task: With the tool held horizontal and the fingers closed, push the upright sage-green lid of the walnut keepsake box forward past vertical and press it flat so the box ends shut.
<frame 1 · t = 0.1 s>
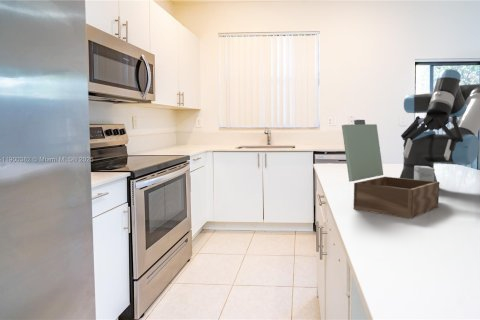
hand: (424, 157, 136), 15 cm above the counter, tool tilted 35°, fingers open, 13 cm apart
ink box: (422, 200, 139), on the counter
lid: (363, 149, 133), point 18 cm above the counter, hinge at 100.0°
wooden box: (396, 208, 126), on the counter
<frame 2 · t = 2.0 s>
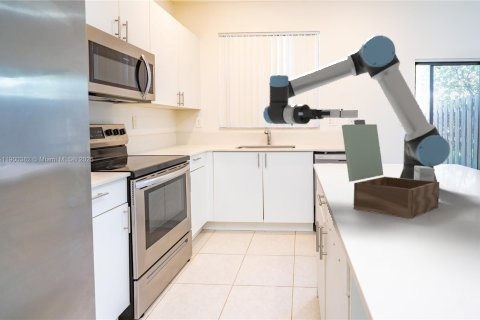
hand: (348, 113, 138), 30 cm above the counter, tool horizontal, fingers open, 11 cm apart
nothing on the counter moved.
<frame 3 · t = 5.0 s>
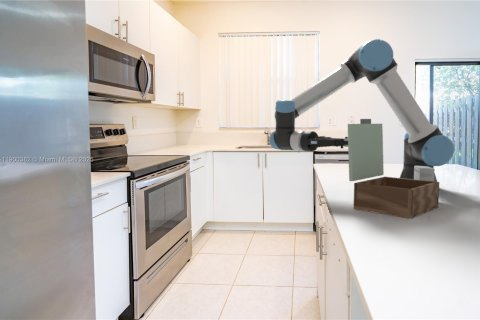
hand: (362, 143, 132), 20 cm above the counter, tool horizontal, fingers closed
lid: (366, 148, 132), point 18 cm above the counter, hinge at 93.4°, touching gripper
everything else where it was.
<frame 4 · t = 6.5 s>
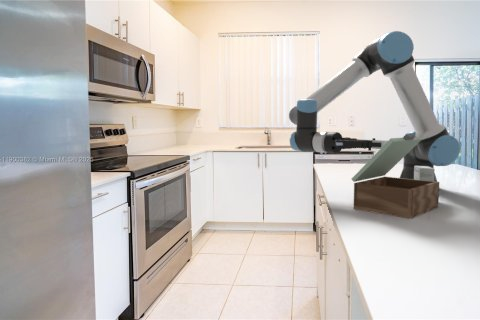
hand: (392, 145, 125), 20 cm above the counter, tool horizontal, fingers closed
lid: (389, 157, 127), point 16 cm above the counter, hinge at 46.7°
everything else where it was.
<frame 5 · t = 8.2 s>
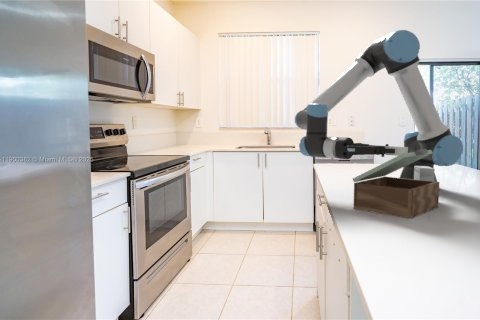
hand: (406, 151, 122), 18 cm above the counter, tool horizontal, fingers closed
lid: (395, 164, 125), point 14 cm above the counter, hinge at 29.3°
everything else where it was.
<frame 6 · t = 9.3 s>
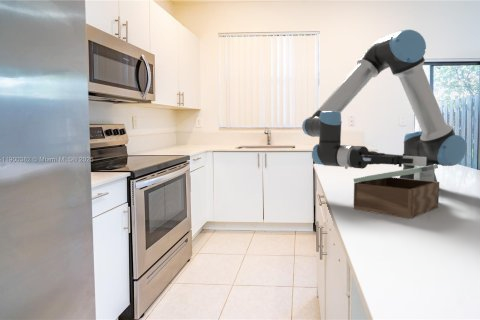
hand: (425, 161, 118), 15 cm above the counter, tool horizontal, fingers closed
lid: (398, 173, 125), point 11 cm above the counter, hinge at 13.8°, touching gripper
everything else where it was.
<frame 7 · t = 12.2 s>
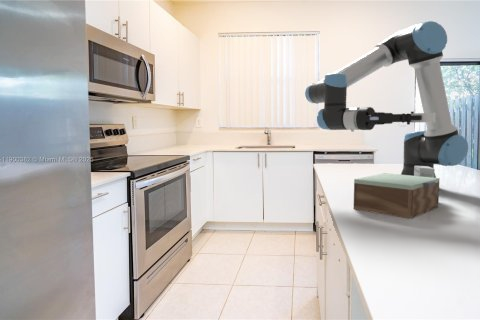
hand: (434, 117, 116), 28 cm above the counter, tool horizontal, fingers closed
lid: (399, 180, 125), point 9 cm above the counter, hinge at 0.0°, touching wooden box
everything else where it was.
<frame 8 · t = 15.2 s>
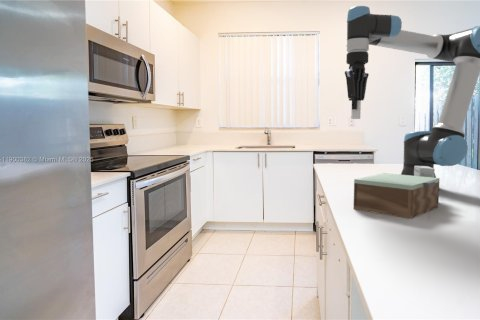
hand: (355, 118, 144), 28 cm above the counter, tool pointing down, fingers closed
nothing on the counter moved.
at the end: lid at +0° (first picture: +100°); ink box moved 0.3 cm from its start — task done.
